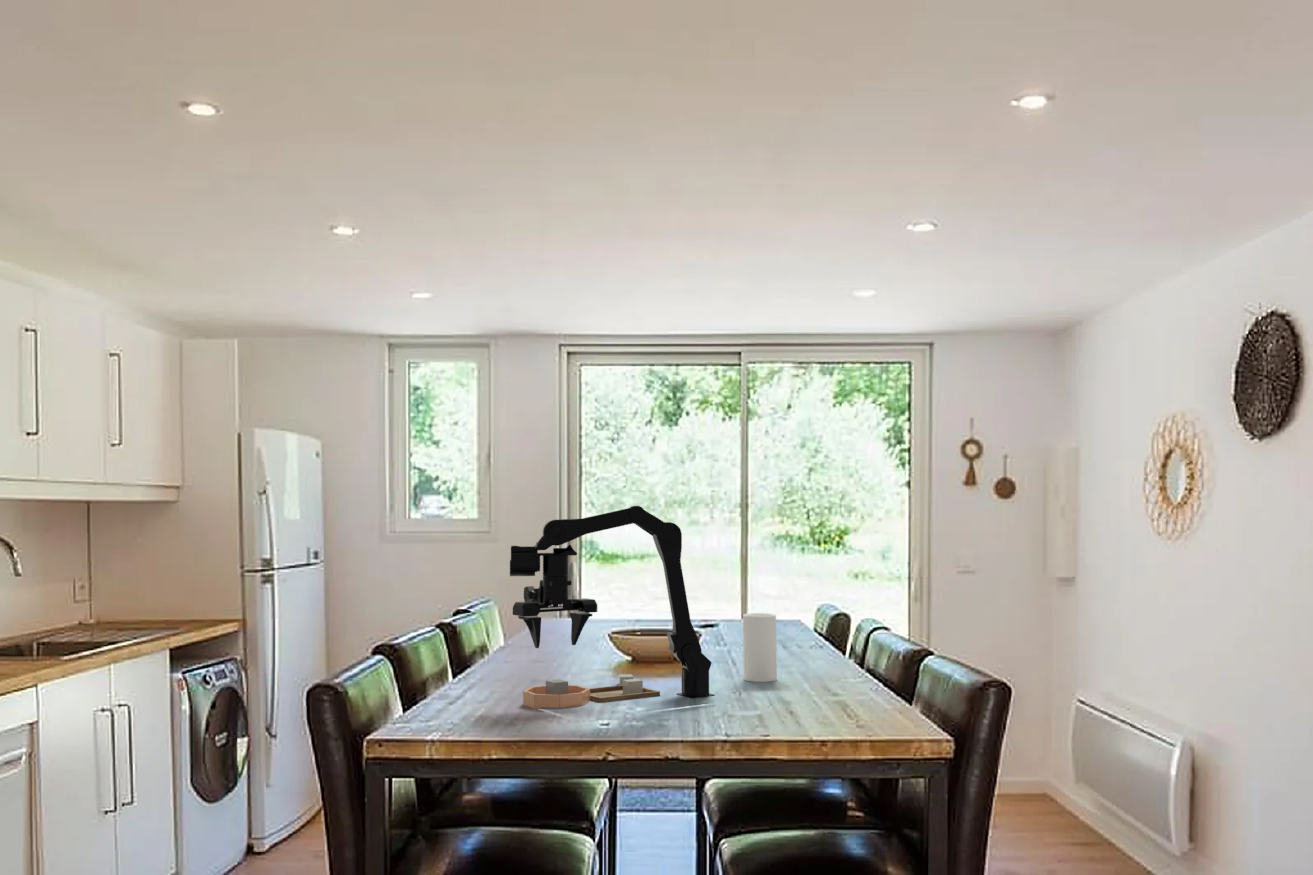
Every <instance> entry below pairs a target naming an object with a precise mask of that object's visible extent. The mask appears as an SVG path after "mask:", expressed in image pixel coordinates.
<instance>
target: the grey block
mask: <svg viewBox="0 0 1313 875" xmlns="http://www.w3.org/2000/svg"><path fill="white" fill-rule="evenodd" d="M545 685H546V694H551V695H562V694H568V685H569V681H568V680H564V679H560V678H558V679H550V680H549V679H547V680H545Z"/></svg>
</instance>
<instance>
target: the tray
mask: <svg viewBox="0 0 1313 875" xmlns="http://www.w3.org/2000/svg"><path fill="white" fill-rule="evenodd" d="M589 689H590V701H593V702H596V703H607V702H616V701H625V700H627V701H628V700H633V699H643V698H652V697H660V696H661V690H660V691H659V690H655V689H651V688H648V687H644V686H643V693H635V694H624V693H623V685H619V684H617V685H612V686H602V687H601V686H600V687H591V688H589Z"/></svg>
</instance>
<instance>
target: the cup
mask: <svg viewBox="0 0 1313 875" xmlns="http://www.w3.org/2000/svg"><path fill="white" fill-rule="evenodd" d="M742 622H743V623H742V626H743V627H742V631H743V632H742V635H743V637H742V638H743V640H742V641H743V642H742V645H743V648H742V649H743V680H744V681H745V682H746V681H747V682H753V683H755V682H756V683H770V682H775V681H777V680H778V679H777V678H778V673H777V672H778V670H777V667H778V665H777V664H778V663H777V660H778V658H777V654H778V653H777V615H776V614H774V613H768V612H767V613H765V612H764V613H762V612H760V613H758V612H757V613H756V612H755V613H754V612H753V613H744V614H743V615H742Z"/></svg>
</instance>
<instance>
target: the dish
mask: <svg viewBox="0 0 1313 875" xmlns="http://www.w3.org/2000/svg"><path fill="white" fill-rule="evenodd" d="M590 701H591V700H590V689H589V688H588V687H586V686H582V685H578V684H568V694H562V695H551V694H546V684H544V685H539V686H530V687H528V688H527V689H525V690H523V691H522V706H525V707H527V708H531V709H534V710H545V708H556V709H557V708H558V709H559V708H567V707H569V708H570V707H575V706H577V707H578V706H584V705H585V704H587V703H589V702H590Z"/></svg>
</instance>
